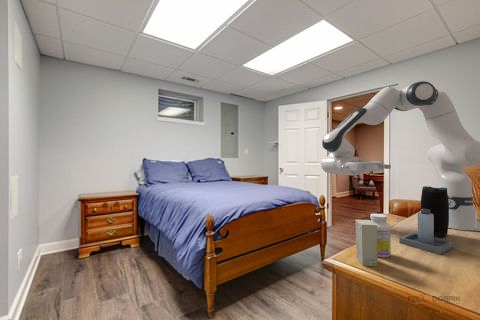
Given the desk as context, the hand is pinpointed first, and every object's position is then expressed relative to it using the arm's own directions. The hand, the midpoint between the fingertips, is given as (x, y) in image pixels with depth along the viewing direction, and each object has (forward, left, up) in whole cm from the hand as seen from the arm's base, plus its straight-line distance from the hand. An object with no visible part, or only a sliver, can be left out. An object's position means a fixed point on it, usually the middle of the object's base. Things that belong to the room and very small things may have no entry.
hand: (384, 167), depth 93 cm
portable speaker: (-17, +11, -28) cm, 35 cm away
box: (0, +14, -28) cm, 31 cm away
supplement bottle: (+22, +9, -28) cm, 37 cm away
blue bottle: (0, +14, -27) cm, 31 cm away
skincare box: (+31, +10, -28) cm, 43 cm away
